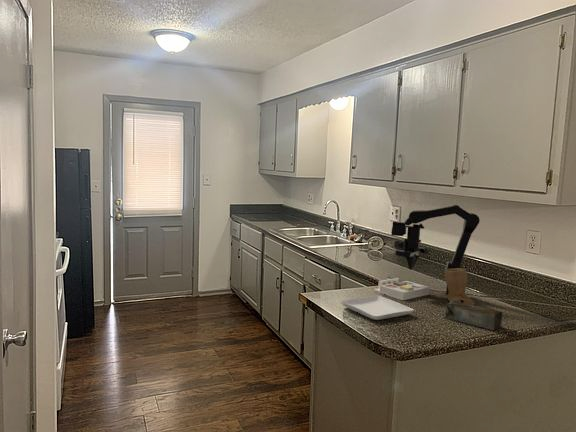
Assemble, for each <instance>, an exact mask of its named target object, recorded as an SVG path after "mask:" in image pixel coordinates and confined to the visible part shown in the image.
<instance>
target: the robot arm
mask: <svg viewBox="0 0 576 432" xmlns="http://www.w3.org/2000/svg"><path fill="white" fill-rule="evenodd" d="M454 214H455V215H457V216H458V217H460V218H461V219H463V225H462V227H463V228H462V232H461V236H460V238H459V240H458V243H457V246H456V248H455V251H454V254H453V256H452V259H451V260H450V261H449V260H447V261H446V265H445V267H443V268H444V271H445V270H446V269H461V264H462V260H463V258H464V255H465V253H466V250H467V247H468V245H469V243H470V240H471V237H472V234H473V233H474V231H475V230H476V229H477V227H478V226H479V224H480V217H479V216H478V215H477V214H476V213H473V212H468V211H467V210H465V209H464V208H462V207H460V205H457V204H453V205H450V206H449V205H448V206H444V207H439V208H434V209H428V210H420V209H419V210H411V211H410V212H409V214H408V217H407V219H405V220H404V222H402V221H401V222H400V221H395V220H394V221H392V226H391V227H392V228H391V236H395V237H396V236H397V237H404V235H406V238H404V241H400V240H395V241H394V245H393V246H394V247H393V248H395V252H394V253H395V256H398V257H404V258H405V259H406V261H407V265H408V269H409V271H411V270H413V269H414V268H415V265H416V264H417V263H418V260H420V258H421V257H422V255H421V254H423V255H428V254H429V249H428V248H427V247H423V246H420V243H421V242H422V239H420V237H421V229H422V230H423V229H425V226H424V225H423V224H422V222H424V221H427V220H430V219H434V218H438V217H444V216H449V215H454ZM420 253H421V254H420ZM447 294H449V291H448V287H447V286H446V290H445V293H444V295H446V296H447Z"/></svg>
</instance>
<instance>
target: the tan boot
mask: <svg viewBox="0 0 576 432" xmlns="http://www.w3.org/2000/svg"><path fill="white" fill-rule="evenodd" d="M443 276H444V280H445V284H446V288H447V287H448V291H449V294H447V295H446V299H447V300H448V301H449V303H450V302H453V301H456V302H460V303H465V304H469V305H473V306H475V302H474V301H473V300H472V299H471V298H470V296H468V295H466V287H467V284H468V272H467V270H466V269H465V268H460V269H446V270H445V269H444V275H443Z"/></svg>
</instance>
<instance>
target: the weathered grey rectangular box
mask: <svg viewBox="0 0 576 432" xmlns="http://www.w3.org/2000/svg"><path fill="white" fill-rule="evenodd" d="M444 318H445V319H447V320H452V321H455V322H458V323H463V324H465V325H466V324H467V325H470V326H473V327H474V326H475V327H479V328H482V327H483V328H482V329H486V330H490V331H496V330H498V329H499V328H501V327H502V322H503V321H502V320H503V311H501V310H497V309H495V308H489V307H488V308H487V307H483V306H477V305H469V304H465V303H460V302H456V301H453V302H450V301H449V302H448V303H446V304H445V316H444Z"/></svg>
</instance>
